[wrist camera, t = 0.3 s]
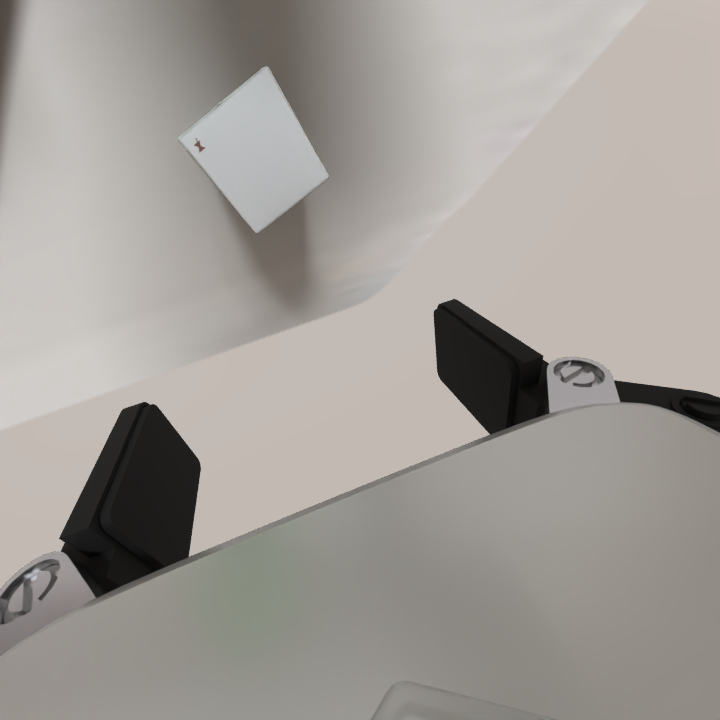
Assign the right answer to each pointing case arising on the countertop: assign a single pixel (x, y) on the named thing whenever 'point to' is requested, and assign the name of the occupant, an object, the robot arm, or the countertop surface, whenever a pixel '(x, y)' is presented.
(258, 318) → the countertop surface
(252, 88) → the supplement box
